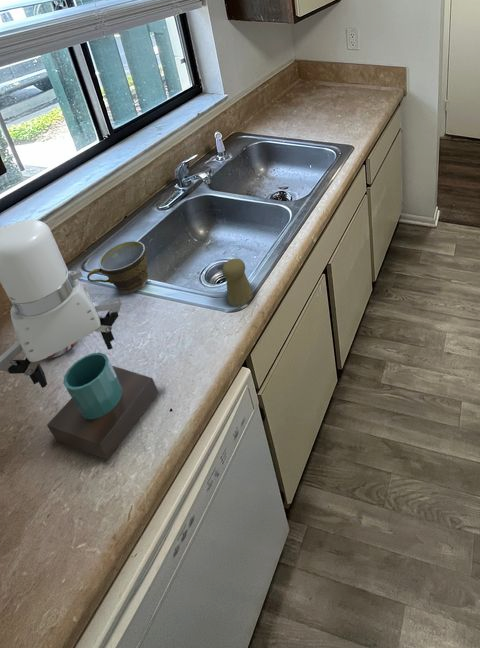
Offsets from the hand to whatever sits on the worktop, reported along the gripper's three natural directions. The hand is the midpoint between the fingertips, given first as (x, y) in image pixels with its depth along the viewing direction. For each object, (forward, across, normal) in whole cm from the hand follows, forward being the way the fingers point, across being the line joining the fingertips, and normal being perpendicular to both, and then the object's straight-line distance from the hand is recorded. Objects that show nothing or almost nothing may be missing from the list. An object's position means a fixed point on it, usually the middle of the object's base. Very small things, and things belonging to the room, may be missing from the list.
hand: (77, 361), depth 77 cm
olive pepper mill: (+16, -32, -8) cm, 37 cm away
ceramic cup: (+17, -12, -32) cm, 38 cm away
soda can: (+17, +3, -24) cm, 30 cm away
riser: (+17, -1, 0) cm, 17 cm away
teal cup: (+12, -1, 0) cm, 12 cm away
